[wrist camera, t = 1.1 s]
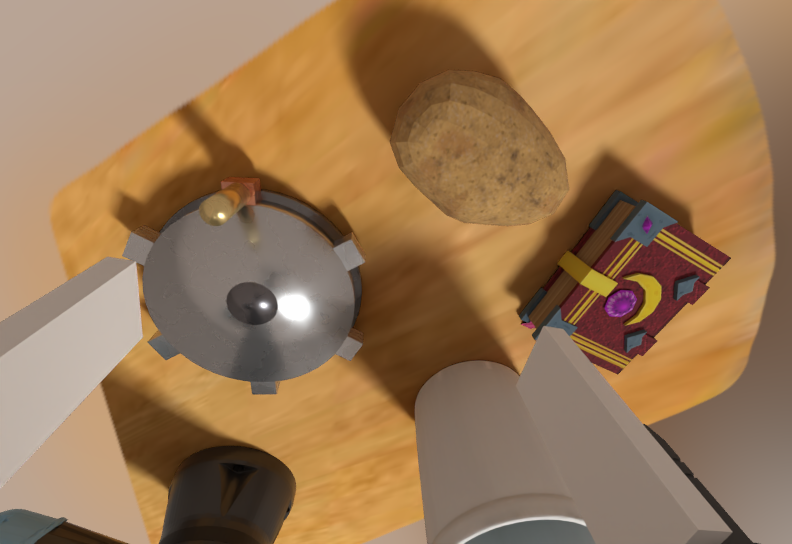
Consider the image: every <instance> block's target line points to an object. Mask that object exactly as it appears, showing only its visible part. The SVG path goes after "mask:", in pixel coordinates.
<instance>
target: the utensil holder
mask: <svg viewBox="0 0 792 544" xmlns="http://www.w3.org/2000/svg"><path fill="white" fill-rule="evenodd" d="M519 377H520V376H519V375H518V374H517V373H516V372H514V371H513V370H512V369H510V368H509V367H507V366H505V365H502V364H499V363H495V362H490V361H481V360H477V361H467V362H461V363H457V364H454V365H451V366H449V367H446V368H444V369H443V370H441V371H439V372H437V373H436V374H435V375H433V376H432V377H431V378H430V379H429V380H428V381H427V382H426V383H425V384H424V385H423V387H422V388H421V390H420V391H419V393H418V395H417V398H416V402H415V426H416V440H417V451H418V462H419V472H420V481H421V490H422V500H423V510H424V519H425V527H426V537H427V544H596V543H595V541H594V539H593V537H592V535H591V533H590V531H589V530H588V528H587V526H586V524H585V522H584V520H583V518H582V516H581V514H580V512H579V510H578V508H577V506H576V504H575V502H574V500H573V498H572V496H571V494H570V492H569V490H568V488H567V486H566V484H565V482H564V480H563V478H562V476H561V474H560V472H559V470H558V468H557V466H556V464H555V462H554V460H553V458H552V456H551V454H550V452H549V451H548V449H547V447H546V445H545V443H544V441H543V439H542V437H541V435H540V433H539V431H538V429H537V427H536V425H535V423H534V421H533V419H532V417H531V415H530V413H529V411H528V409H527V407H526V405H525V403H524V401H523V399H522V397H521V395H520V393H519V391H518V389H517V387H516V384H517V382H518V380H519Z"/></svg>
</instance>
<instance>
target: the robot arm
mask: <svg viewBox="0 0 792 544" xmlns="http://www.w3.org/2000/svg"><path fill="white" fill-rule="evenodd" d="M142 338H143V335H142V324H141V313H140V301H139V290H138V278H137V267H136V261H131V260H124V259H118V258H112V257H106V258H105V259H103V260H101V261H100V262H98V263H97V264H95V265H93V266H92V267H90V268H88V269H87V270H85V271H83V272H82V273H80V274H79V275H77V276H75V277H74V278H72V279H70V280H69V281H67V282H65V283H64V284H62V285H61V286H59V287H57V288H56V289H54V290H52V291H51V292H49V293H48V294H46V295H44V296H43V297H41V298H39V299H38V300H36V301H34V302H33V303H31V304H30V305H28V306H26V307H25V308H23V309H21V310H20V311H18V312H16V313H15V314H13V315H12V316H10V317H9V318H7V319H5V320H3V321H2V322H0V489H1V487H2V486H3V485H4V484H5V483H6V482H7V481H8V480H9V479H10V478H11V477H12V476H13V475H14V474H15V472H16V471H17V470H18V469H19V468H20V467H21V466H22V465H23V464H24V463H25V462H26V461H27V460H28V459H29V458H30V457H31V455H33V453H34V452H35V451H36V450H37V449H38V448H39V447H40V446H41V445H42V444H43V443H44V442H45V441H46V440H47V439H48V437H49V436H50V435H51V434H52V433H53V432H54V431H55V430H56V429H57V428H58V427H59V426H60V425H61V424H62V423H63V422H64V420H65V419H66V418H67V417H68V416H69V415H70V414H71V413H72V412H73V411H74V410H75V409H76V408H77V407H78V406H79V405H80V404H81V402H82V401H83V400H84V399H85V398H86V397H87V396H88V395H89V394H90V393H91V392H92V391H93V390H94V389H95V388H96V386H97V385H98V384H99V383H100V382H101V381H102V380H103V379H104V378H105V377H106V376H107V375H108V374H109V373H110V372H111V371H112V369H113V368H114V367H115V366H116V365H117V364H118V363H119V362H120V361H121V360H122V359H123V358H124V357H125V356H126V355H127V354H128V352H129V351H130V350H131V349H132V348H133V347H134V346H135V345H136V344H137V343H138V342H139V341H140V340H141V339H142ZM516 387H517V389H518V391H519V393H520V395H521V397H522V399H523V401H524V403H525V405H526V407H527V409H528V411H529V413H530V415H531V417H532V419H533V421H534V423H535V425H536V427H537V429H538V431H539V433H540V435H541V437H542V439H543V441H544V443H545V445H546V447H547V449H548V451H549V452H550V454H551V456H552V458H553V460H554V462H555V464H556V466H557V468H558V470H559V472H560V474H561V476H562V478H563V480H564V482H565V484H566V486H567V488H568V490H569V492H570V494H571V496H572V498H573V500H574V502H575V504H576V506H577V508H578V510H579V512H580V514H581V516H582V518H583V520H584V522H585V524H586V526H587V528H588V530H589V531H590V533H591V535H592V537H593V539H594V541H595V543H596V544H758V543H753V542H752V541H751V540H750V539H749V538H748V537H747V536H746V534H745V533H744V532H743V531H742V530H741V529H740V527H739V526H738V525H737V524H736V523H735V522H734V521H733V519H732V518H731V517H730V516H729V515H728V514H727V512H725V510H724V509H723V508H722V507H721V505H720V504H719V503H718V502H717V501H716V500H715V499H714V497H713V496H712V495H711V494H710V493H709V491H708V490H707V489H706V488H705V487H704V486H703V484H702V483H701V482H700V481H699V480H698V479H697V478H694V476H693V473H692V472H691V470H690V469H689V468H688V467H687V466H686V465H685V463H683V462H681V461H680V458H679V457H678V455H677V454H676V453H675V452H674V451H673V449H672V448H671V447H670V446H669V445H668V444H667V443H666V441H665V440H664V439H662V438H661V437H660V436H659V435H658V434H656V433H655V432H654V431H653V430H651V429H650V428H649V427H648V426H647V425H645V424H642V423H641V422H640V420H639V419H638V418H637V417H636V416H635V414H634V413H633V412H632V411H631V410H630V408H629V407H628V406H627V405H626V404H625V402H624V401H623V400H622V399H621V398H620V396H619V395H618V394H617V393H616V392H615V390H614V389H613V388H612V387H611V386H610V384H609V383H608V382H607V381H606V380H605V378H604V377H603V376H602V375H601V374H600V372H599V371H598V370H597V369H596V368H595V366H594V365H593V364H592V363H591V362H590V360H589V359H588V358H587V357H586V356H585V354H584V353H583V352H582V351H581V350H580V348H579V347H578V346H577V345H576V344H575V342H574V341H573V340H572V339H571V338H570V336H569V335H568V334H567V333H566V332H565V330H564V329H560V328H554V327H547V326H543V328H542V330H541V332H540V334H539V337H538V339H537V341H536V343H535V345H534V347H533V349H532V352H531V354H530V356H529V358H528V360H527V362H526V364H525V367H524V369H523V371H522V373H521V375H520V377H519V380H518V382H517V384H516ZM295 492H296V482H295V478H294V476H293V474H292V472H291V471H290V470H289V468H288V467H287V466H286V465H285V464H284V463H283V462H281V461H280V460H279V459H277V458H275V457H274V456H272V455H270V454H268V453H265V452H263V451H260V450H257V449H253V448H248V447H241V446H219V447H213V448H208V449H205V450H202V451H199V452H197V453H195V454H193V455H191V456H190V457H188V458H187V459H186V460H184V461H183V462H182V464H181V465H180V466H179V468H178V470H177V472H176V473H175V475H174V477H173V479H172V481H171V484H170V487H169V493H168V504H167V509H166V514H165V519H164V525H163V531H162V536H161V540H160V542H159V544H273V543H274V541H275V540H276V538H277V536H278V533H279V531H280V529H281V527H282V525H283V522H284V520H285V519H286V518H287V516H288V515H289V513H290V511H291V509H292V506H293V502H294V497H295ZM66 521H67V519H66V518H64V517H62V518H59V519H56V518H52V517H49V516H45V515H42V514H38V513H35V512H31V511H28V510H23V509H12V510H8V511H4V512H1V513H0V544H128V543H125V542H123V541H120V540H117V539H114V538H111V537H108V536H105V535H103V534H100V533H97V532H94V531H91V530H88V529H85V528H82V527H79V526H77V525H74V524H71V523H68V522H66Z"/></svg>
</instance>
